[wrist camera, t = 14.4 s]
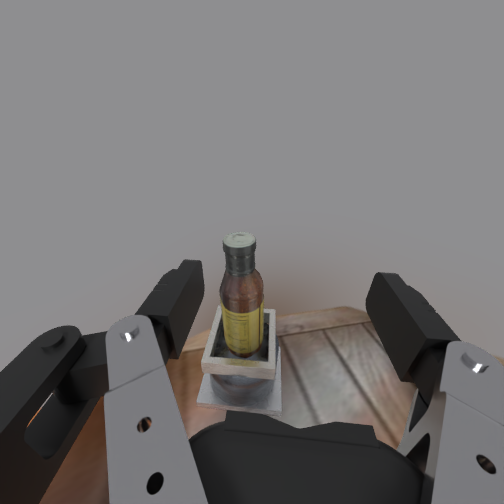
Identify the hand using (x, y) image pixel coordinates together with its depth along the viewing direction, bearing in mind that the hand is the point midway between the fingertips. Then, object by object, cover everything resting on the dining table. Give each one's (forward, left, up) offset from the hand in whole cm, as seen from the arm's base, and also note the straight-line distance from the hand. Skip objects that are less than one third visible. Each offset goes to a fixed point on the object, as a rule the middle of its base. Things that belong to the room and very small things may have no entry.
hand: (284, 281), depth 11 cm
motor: (+4, -16, -35) cm, 39 cm away
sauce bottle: (+4, -16, -26) cm, 30 cm away
